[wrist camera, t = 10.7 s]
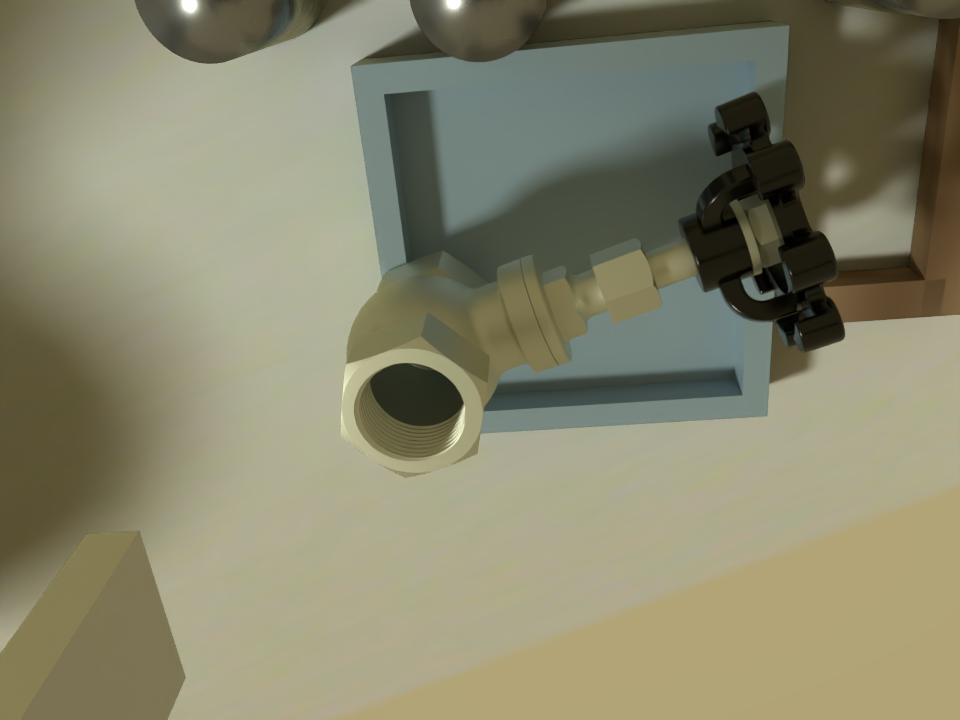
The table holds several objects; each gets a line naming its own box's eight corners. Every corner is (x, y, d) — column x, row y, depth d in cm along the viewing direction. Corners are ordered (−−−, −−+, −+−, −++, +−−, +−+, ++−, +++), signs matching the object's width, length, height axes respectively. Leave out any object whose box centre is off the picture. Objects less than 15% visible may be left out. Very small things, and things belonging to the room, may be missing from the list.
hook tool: (794, 310, 27) (806, 324, 26) (829, -204, 22) (846, -213, 20) (943, 300, 27) (960, 314, 26) (1019, -225, 21) (1046, -236, 20)
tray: (411, 411, 30) (405, 437, 28) (361, 59, 25) (350, 66, 23) (753, 390, 29) (767, 416, 27) (770, 20, 24) (789, 25, 22)
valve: (418, 419, 28) (787, 289, 25) (391, 546, 22) (870, 391, 19) (325, 236, 25) (725, 73, 23) (266, 322, 19) (799, 113, 17)
